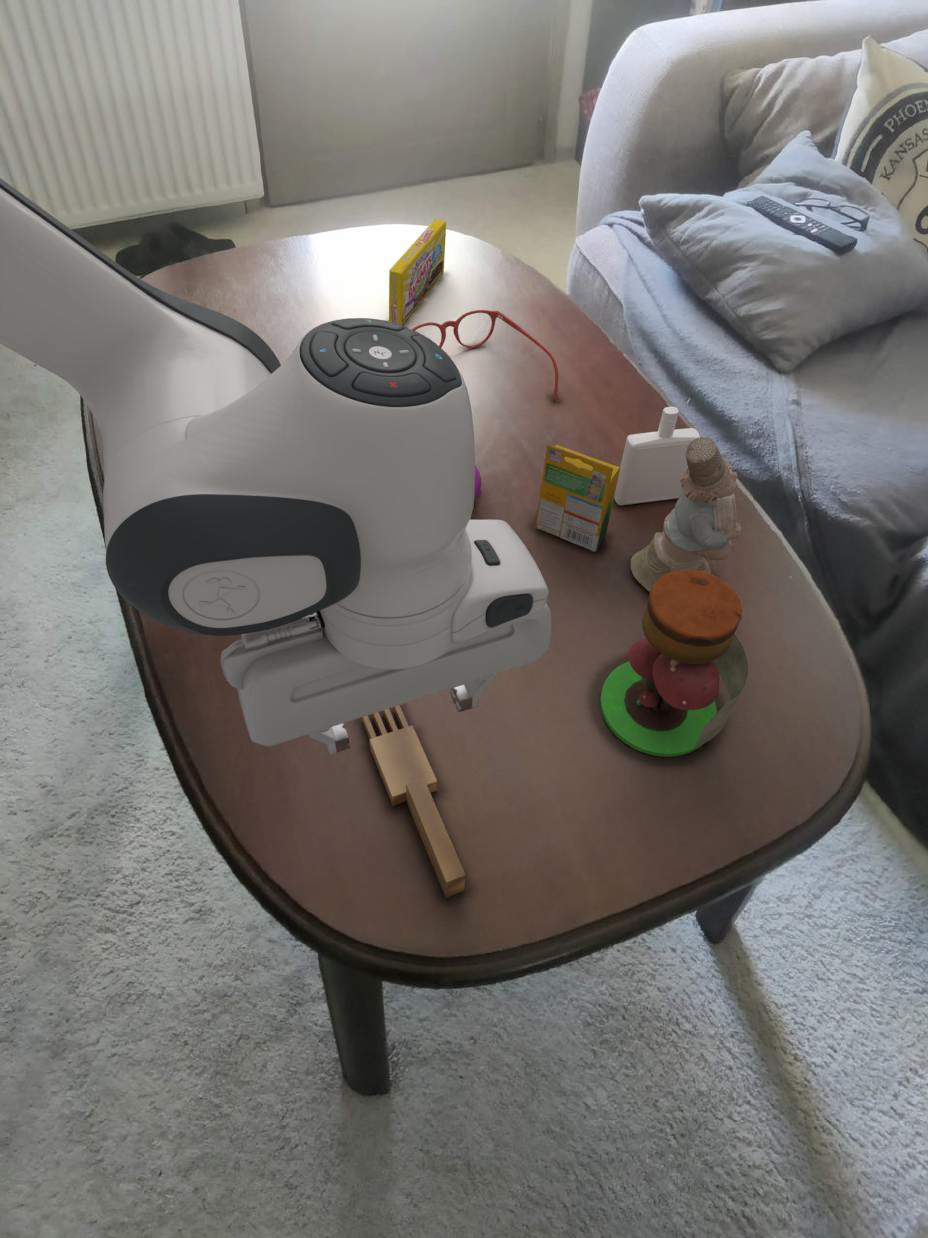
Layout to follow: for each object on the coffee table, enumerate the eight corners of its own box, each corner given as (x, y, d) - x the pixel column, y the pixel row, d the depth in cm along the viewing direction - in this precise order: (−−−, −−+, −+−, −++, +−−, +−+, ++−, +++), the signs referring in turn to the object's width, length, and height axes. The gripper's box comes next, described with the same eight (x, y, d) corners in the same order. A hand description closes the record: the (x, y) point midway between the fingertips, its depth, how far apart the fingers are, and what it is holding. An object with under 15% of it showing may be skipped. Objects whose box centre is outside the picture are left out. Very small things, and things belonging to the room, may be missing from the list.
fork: (431, 904, 67) (431, 888, 65) (359, 721, 78) (357, 703, 76) (478, 885, 68) (480, 869, 66) (401, 708, 79) (400, 689, 77)
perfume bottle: (617, 506, 97) (637, 419, 88) (612, 495, 98) (631, 408, 89) (684, 498, 98) (711, 412, 89) (678, 487, 100) (703, 400, 90)
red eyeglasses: (502, 334, 119) (505, 301, 115) (565, 398, 110) (570, 364, 106) (387, 365, 113) (386, 331, 109) (443, 435, 104) (444, 401, 100)
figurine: (638, 610, 88) (683, 455, 72) (624, 550, 93) (664, 394, 78) (724, 609, 88) (787, 455, 73) (706, 549, 93) (761, 394, 78)
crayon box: (606, 536, 94) (625, 452, 85) (595, 553, 92) (613, 469, 84) (546, 512, 96) (558, 428, 87) (534, 528, 95) (545, 444, 86)
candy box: (402, 330, 119) (400, 273, 112) (387, 327, 119) (385, 269, 113) (445, 275, 128) (447, 219, 122) (432, 272, 129) (433, 216, 122)
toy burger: (605, 773, 75) (638, 672, 64) (587, 658, 83) (613, 549, 72) (739, 771, 76) (795, 670, 64) (708, 657, 84) (753, 548, 72)
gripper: (226, 687, 45) (266, 810, 56) (574, 583, 51) (550, 714, 61) (202, 602, 49) (244, 733, 60) (528, 513, 54) (514, 648, 65)
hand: (401, 722), depth 61 cm, fingers open, 8 cm apart
